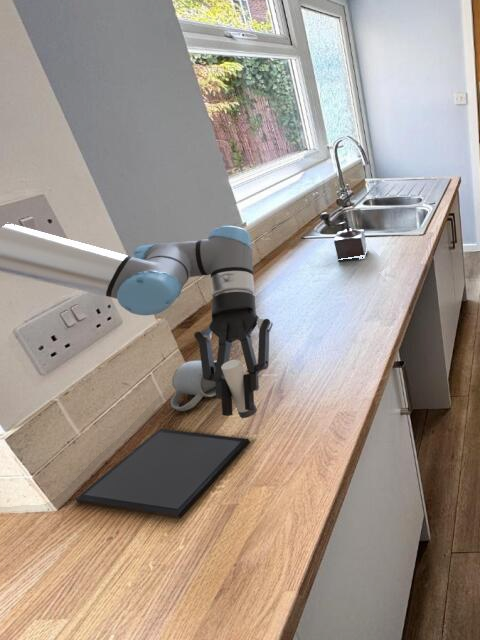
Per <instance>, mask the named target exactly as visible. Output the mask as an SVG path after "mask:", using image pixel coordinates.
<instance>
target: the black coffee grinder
mask: <svg viewBox="0 0 480 640" xmlns="http://www.w3.org/2000/svg"><path fill="white" fill-rule="evenodd" d="M330 216H331V214H330V213H329V212H326V211H325V212H322V213H321V214H320V215H319V219H320V220H321V221H322V222H323V223H324V225H325V226H327V227H328V228H335V227H339V226H340V227H341V226H343V225H345V227H346V228H345V229H344V230H342V231H338V232H337V233H336V235H335V237H334V239H333V243H334V247H335V251H336V257H337V261H338V263H346V262H355V261H362V260H361V259H360V260H359V258H352V259H343V260H338V259H341V258H348V257H354V256H360V255H365V252H366V247H367V248H368V246H367V240H366V234H365V230H364V228H362V229H355V228H351V226H349V220H348V217H347V216H345V217H343V220H344V221H342V222H339V223H335V224H331V223H332V221H331V220H330V219H331V217H330ZM362 258H363V257H362Z"/></svg>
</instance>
